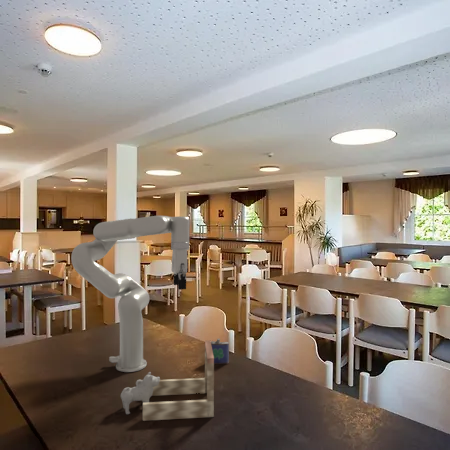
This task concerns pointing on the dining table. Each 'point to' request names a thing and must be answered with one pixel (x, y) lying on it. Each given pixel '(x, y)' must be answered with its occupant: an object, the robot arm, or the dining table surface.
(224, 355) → the flask
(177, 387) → the channel
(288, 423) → the dining table surface
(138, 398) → the dog figurine
